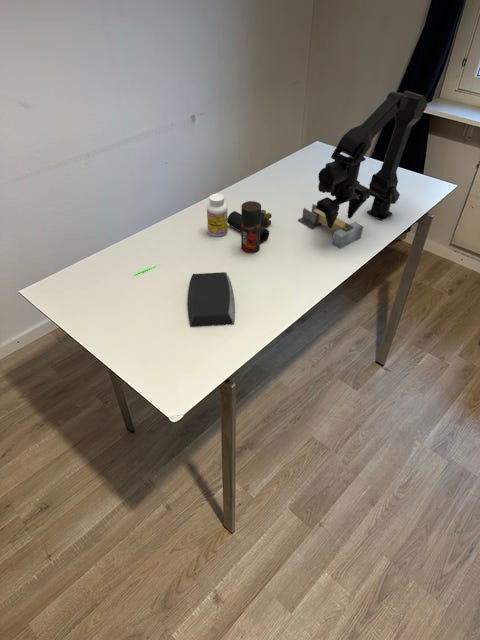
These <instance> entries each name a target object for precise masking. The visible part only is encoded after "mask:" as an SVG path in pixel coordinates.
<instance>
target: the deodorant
mask: <svg viewBox="0 0 480 640" xmlns="http://www.w3.org/2000/svg"><path fill="white" fill-rule="evenodd" d="M261 210H262V204H261V203H260V202H258V201H253V200H251V201H249V200H248V201H245V202H243V203H242V204H241V212H240V214H241V232H240V233H241V235H240V237H241V238H240V239H241V241H240V243H241V245H240V247H241V248H240V249H241V251H242V252H243V253H245V254H250V255H251V254H256V253H257V252H259V251H260V247H261V245H260V226H261Z"/></svg>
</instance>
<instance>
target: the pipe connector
mask: <svg viewBox="0 0 480 640" xmlns="http://www.w3.org/2000/svg"><path fill="white" fill-rule="evenodd" d="M227 216H228V225H229V226H231V227H232V228H233V229H235V230H237V231H239V232H240V233H241V212H240V213H239V212H238V211H236V210H234V211H232V212H230V213H229V214H228V215H227ZM272 216H273V215H272V213H271V212H267V211H266V210H264V209H261V226H260V244H263V243H265V242H266V241H267V240H268V239H269V237H270V231H269V229H267V227H269V226H271V225H272V220H271V219H272Z"/></svg>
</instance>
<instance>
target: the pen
mask: <svg viewBox="0 0 480 640" xmlns="http://www.w3.org/2000/svg"><path fill="white" fill-rule="evenodd" d="M159 266H160V264H158V265H155V266H153V267H149V268H146V269H144V270H142V271H138V272H137V273H134V274H133V275H134V276H135V275H137V276H139V275H138V274H140V273H142V274H145V273H146V271H147V272H149V271H151V270H153V269H155V268H157V267H159ZM152 268H153V269H152ZM150 269H151V270H150ZM148 270H149V271H148ZM144 272H145V273H144ZM140 275H141V274H140ZM135 277H136V276H135Z"/></svg>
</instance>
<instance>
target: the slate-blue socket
mask: <svg viewBox="0 0 480 640" xmlns="http://www.w3.org/2000/svg"><path fill="white" fill-rule="evenodd" d="M348 224H349V223H348ZM349 225H351V226H353V228H352V229H351V230H349V231H347V232H345V231H344V230H342V229H339V230H337V231H335V232H334V231H333V236H332V242H331V244H332V246H334V247H336V248H338V249H340V250H341V249H342V248H345V247H346V246H349V245H351V244H352V243H355V241H358V240H360V239H361V238H362V233H363V229H364V225H361V224H360V223H358V222H357V221H353V222H352V223H350V224H349Z"/></svg>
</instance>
